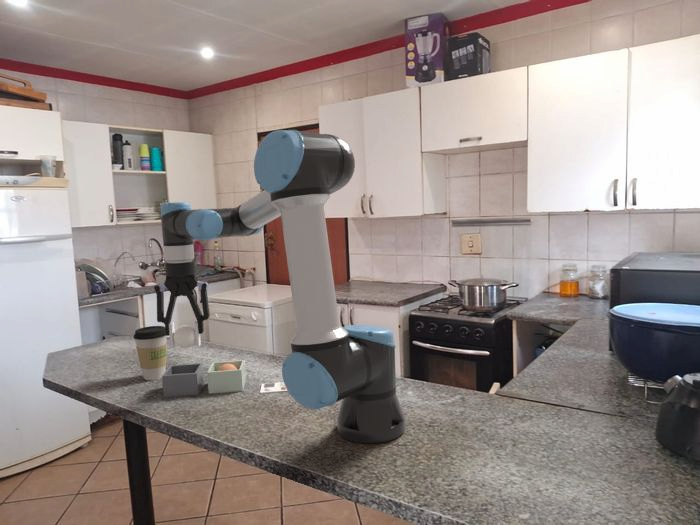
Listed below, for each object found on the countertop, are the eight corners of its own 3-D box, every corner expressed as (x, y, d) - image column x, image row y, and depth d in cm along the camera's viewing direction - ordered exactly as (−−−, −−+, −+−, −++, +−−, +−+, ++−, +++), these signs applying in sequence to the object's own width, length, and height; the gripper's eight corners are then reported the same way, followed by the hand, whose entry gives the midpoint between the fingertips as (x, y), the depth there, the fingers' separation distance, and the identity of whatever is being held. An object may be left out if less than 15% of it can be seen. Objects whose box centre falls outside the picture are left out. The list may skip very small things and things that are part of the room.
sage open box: (242, 391, 140) (241, 369, 139) (208, 393, 139) (207, 372, 138) (246, 379, 149) (244, 360, 148) (214, 382, 148) (212, 362, 147)
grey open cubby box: (198, 394, 139) (196, 373, 138) (163, 397, 138) (161, 376, 137) (204, 383, 148) (202, 363, 147) (172, 385, 147) (170, 365, 146)
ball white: (195, 349, 134) (193, 327, 133) (172, 351, 133) (169, 329, 132) (199, 343, 139) (197, 321, 139) (177, 345, 139) (175, 323, 138)
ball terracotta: (237, 387, 141) (236, 366, 140) (215, 388, 140) (214, 367, 140) (239, 380, 147) (239, 360, 146) (218, 381, 146) (217, 361, 146)
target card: (293, 390, 138) (293, 389, 138) (260, 393, 137) (259, 392, 137) (293, 381, 145) (293, 380, 145) (261, 384, 144) (261, 383, 144)
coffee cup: (172, 379, 153) (168, 330, 151) (137, 384, 149) (132, 334, 147) (170, 369, 162) (166, 323, 160) (137, 374, 158) (133, 327, 156)
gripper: (218, 257, 138) (223, 340, 141) (146, 260, 136) (153, 344, 139) (214, 261, 131) (219, 347, 134) (138, 264, 129) (145, 352, 132)
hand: (185, 346), depth 136 cm, fingers closed on ball white, 6 cm apart
